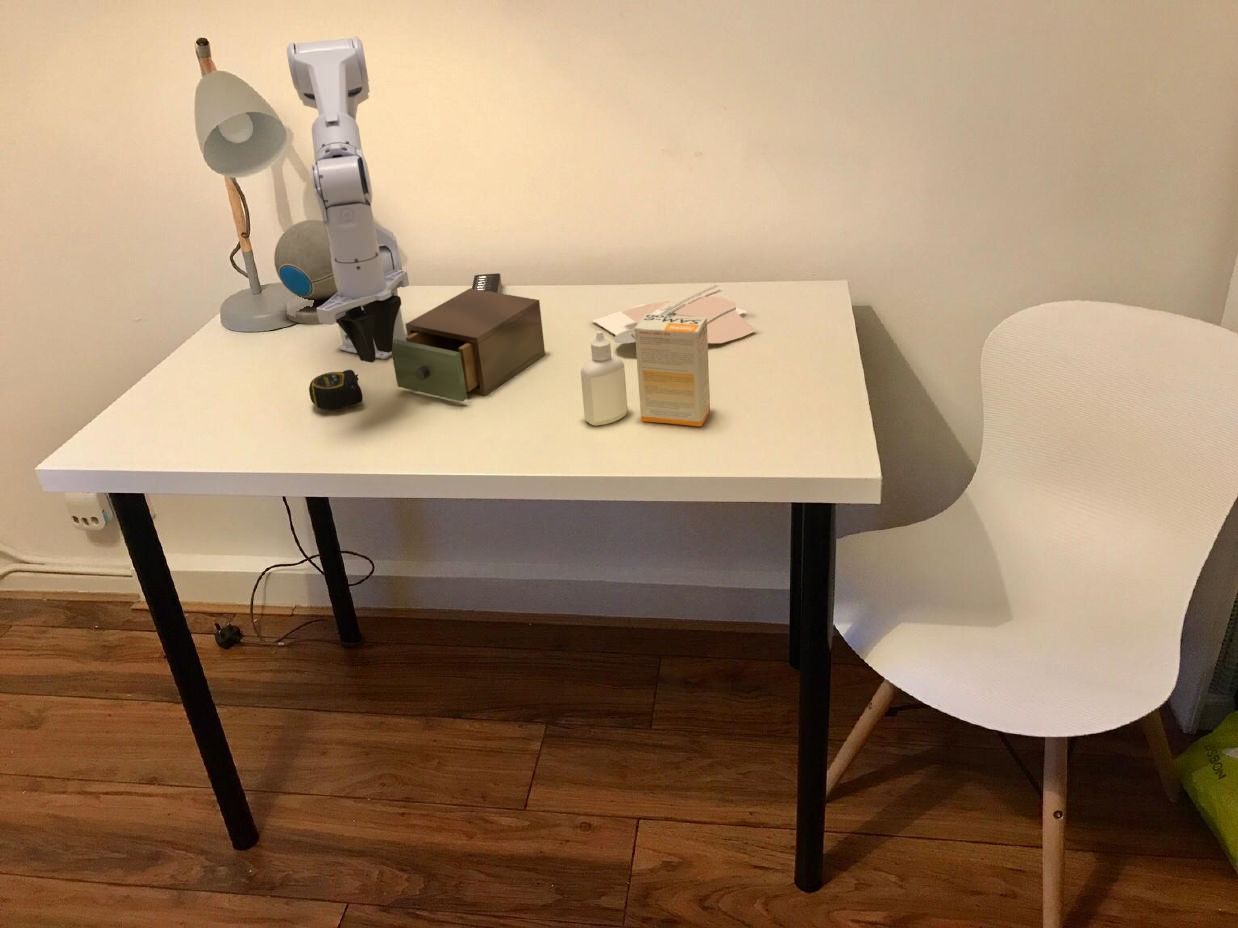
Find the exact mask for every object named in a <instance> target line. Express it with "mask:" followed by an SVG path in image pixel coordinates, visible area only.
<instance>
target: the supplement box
mask: <svg viewBox="0 0 1238 928" xmlns="http://www.w3.org/2000/svg"><path fill="white" fill-rule="evenodd" d="M634 330H635V341H636V342H635V353H636V355H635V356H636V367H637V381H638V394H639V408H640V417H641V418H640V419H641V422H649V423H660V424H670V425H671V424H672V425H682V426H692V427H702V426H703V424H704V422H705V421H706V419H707V417H708V416H709V413H710V411H711V395H710V392H711V391H710V369H709V343H708V338H707V318H701V317H685V316H667V315H652V314H646V315H645V316H644V317H643V318H642V319H641V320H640V322H639V323H638V324H637V325H636V327H635V328H634Z"/></svg>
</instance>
